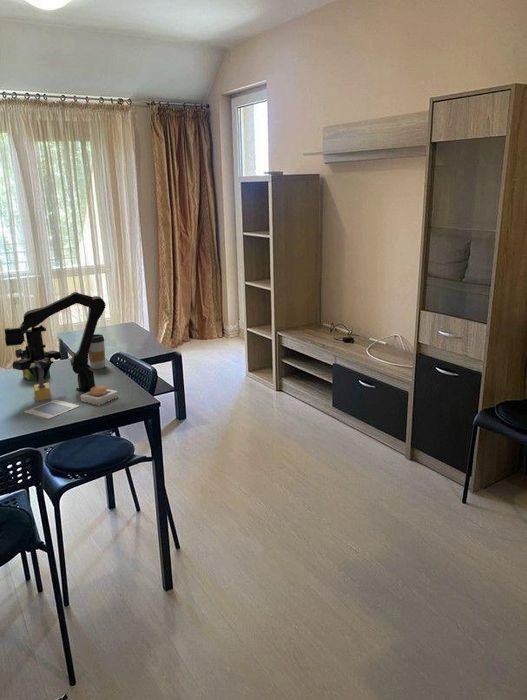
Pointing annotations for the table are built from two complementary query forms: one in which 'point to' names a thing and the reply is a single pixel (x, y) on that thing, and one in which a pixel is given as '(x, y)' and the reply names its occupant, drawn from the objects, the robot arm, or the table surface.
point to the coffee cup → (97, 352)
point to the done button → (98, 391)
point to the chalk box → (28, 375)
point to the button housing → (101, 399)
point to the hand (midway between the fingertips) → (40, 380)
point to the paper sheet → (51, 409)
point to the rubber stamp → (41, 387)
